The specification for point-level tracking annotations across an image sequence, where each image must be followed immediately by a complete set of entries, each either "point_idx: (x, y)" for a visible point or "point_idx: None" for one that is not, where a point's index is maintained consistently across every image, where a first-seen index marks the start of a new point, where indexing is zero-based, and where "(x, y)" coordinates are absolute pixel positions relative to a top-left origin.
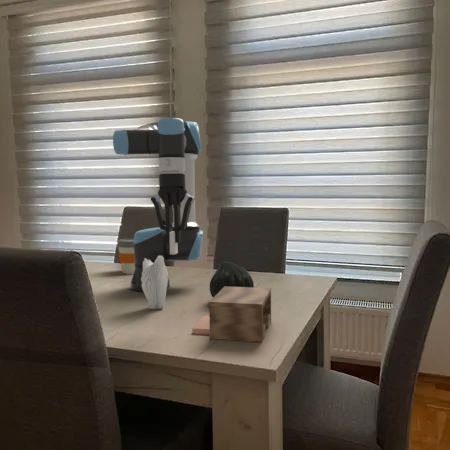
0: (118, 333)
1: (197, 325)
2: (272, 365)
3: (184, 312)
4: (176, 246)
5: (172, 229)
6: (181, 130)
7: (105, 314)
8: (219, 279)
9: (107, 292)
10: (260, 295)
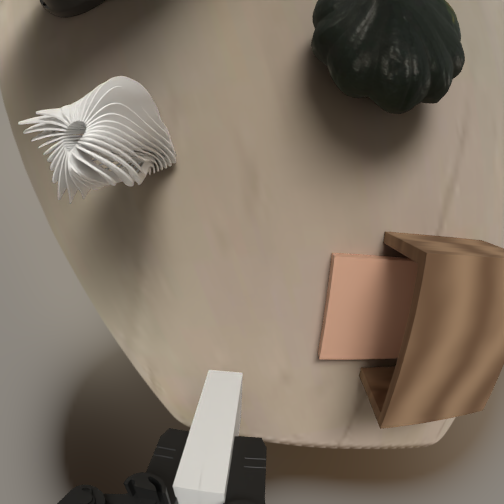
0: (152, 365)
1: (328, 339)
2: (440, 435)
3: (253, 179)
4: (237, 420)
5: (169, 498)
6: None
7: (57, 235)
8: (374, 73)
9: (9, 56)
10: (500, 345)
